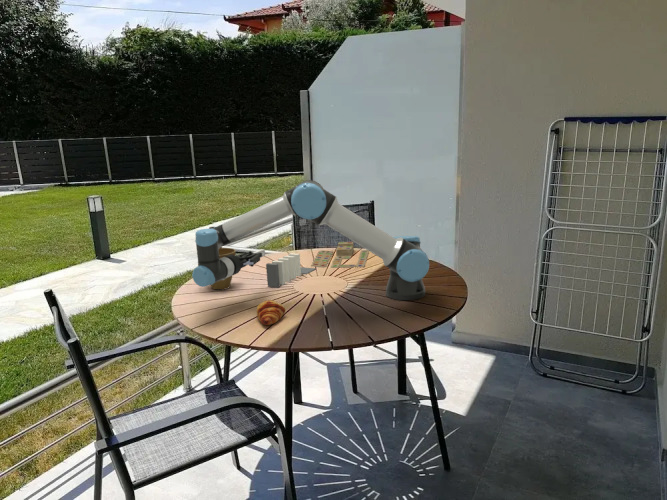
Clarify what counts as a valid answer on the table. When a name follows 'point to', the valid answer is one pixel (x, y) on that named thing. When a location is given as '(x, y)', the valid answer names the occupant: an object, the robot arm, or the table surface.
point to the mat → (306, 270)
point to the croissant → (270, 312)
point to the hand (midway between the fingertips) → (263, 252)
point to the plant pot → (226, 283)
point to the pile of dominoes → (340, 256)
